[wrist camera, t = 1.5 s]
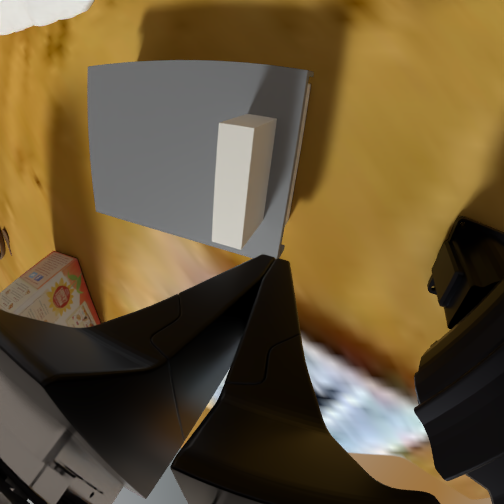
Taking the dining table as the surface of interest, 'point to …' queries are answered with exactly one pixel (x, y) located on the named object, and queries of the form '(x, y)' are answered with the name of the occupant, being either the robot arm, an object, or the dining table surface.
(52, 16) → the crumpled cloth
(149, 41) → the dining table surface
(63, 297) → the cracker box
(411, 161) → the dining table surface
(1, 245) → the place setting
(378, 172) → the dining table surface
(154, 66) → the lid
